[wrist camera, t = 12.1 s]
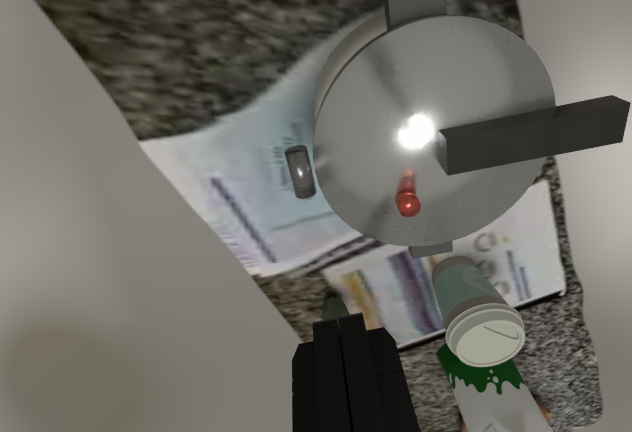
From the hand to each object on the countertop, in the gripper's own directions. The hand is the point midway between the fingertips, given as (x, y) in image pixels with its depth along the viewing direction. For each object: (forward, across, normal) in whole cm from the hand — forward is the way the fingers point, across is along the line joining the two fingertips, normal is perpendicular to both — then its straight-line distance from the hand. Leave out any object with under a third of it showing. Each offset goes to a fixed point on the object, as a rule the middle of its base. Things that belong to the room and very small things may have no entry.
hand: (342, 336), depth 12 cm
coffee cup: (+32, -13, +30) cm, 46 cm away
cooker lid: (+23, -10, +5) cm, 25 cm away
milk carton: (+32, -15, +45) cm, 57 cm away
